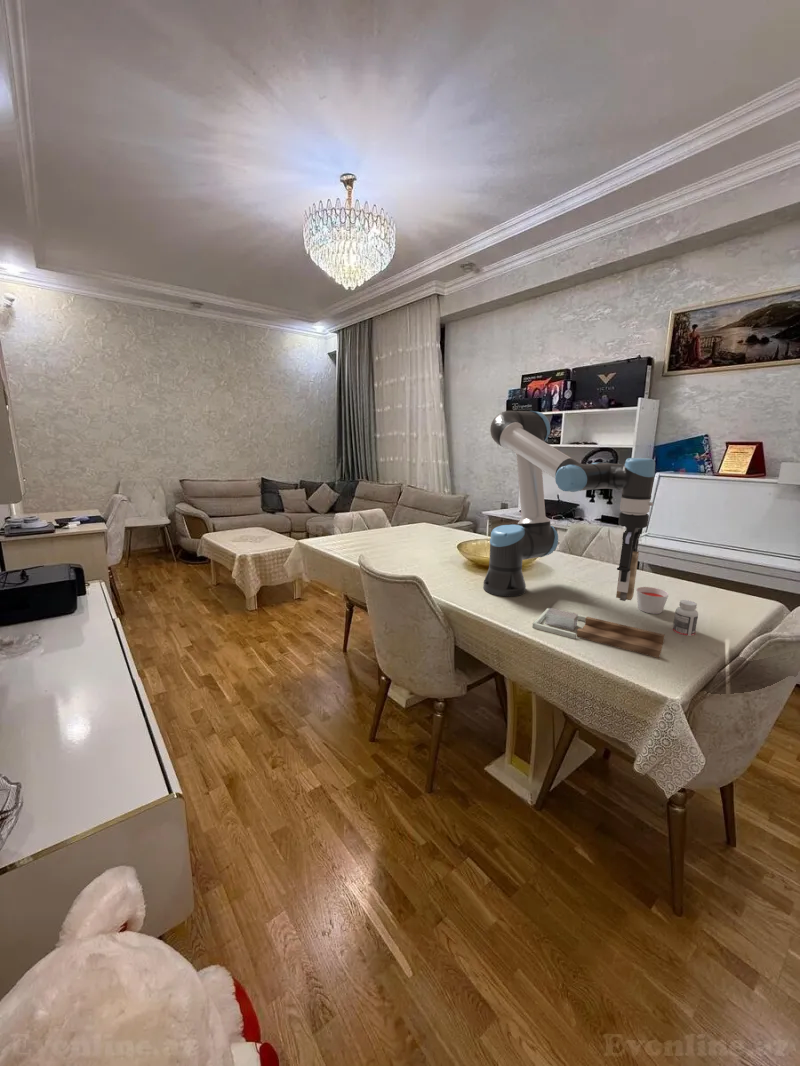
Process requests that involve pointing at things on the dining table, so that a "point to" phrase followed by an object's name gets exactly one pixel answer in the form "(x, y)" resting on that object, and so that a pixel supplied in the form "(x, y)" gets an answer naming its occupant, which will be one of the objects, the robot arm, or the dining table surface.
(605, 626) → the slot board
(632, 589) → the tapered wooden board
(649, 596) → the white round cup
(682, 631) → the pill bottle
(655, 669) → the dining table surface
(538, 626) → the tray
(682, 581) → the dining table surface
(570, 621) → the pinkish grey cube
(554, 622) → the grey cube
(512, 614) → the dining table surface
